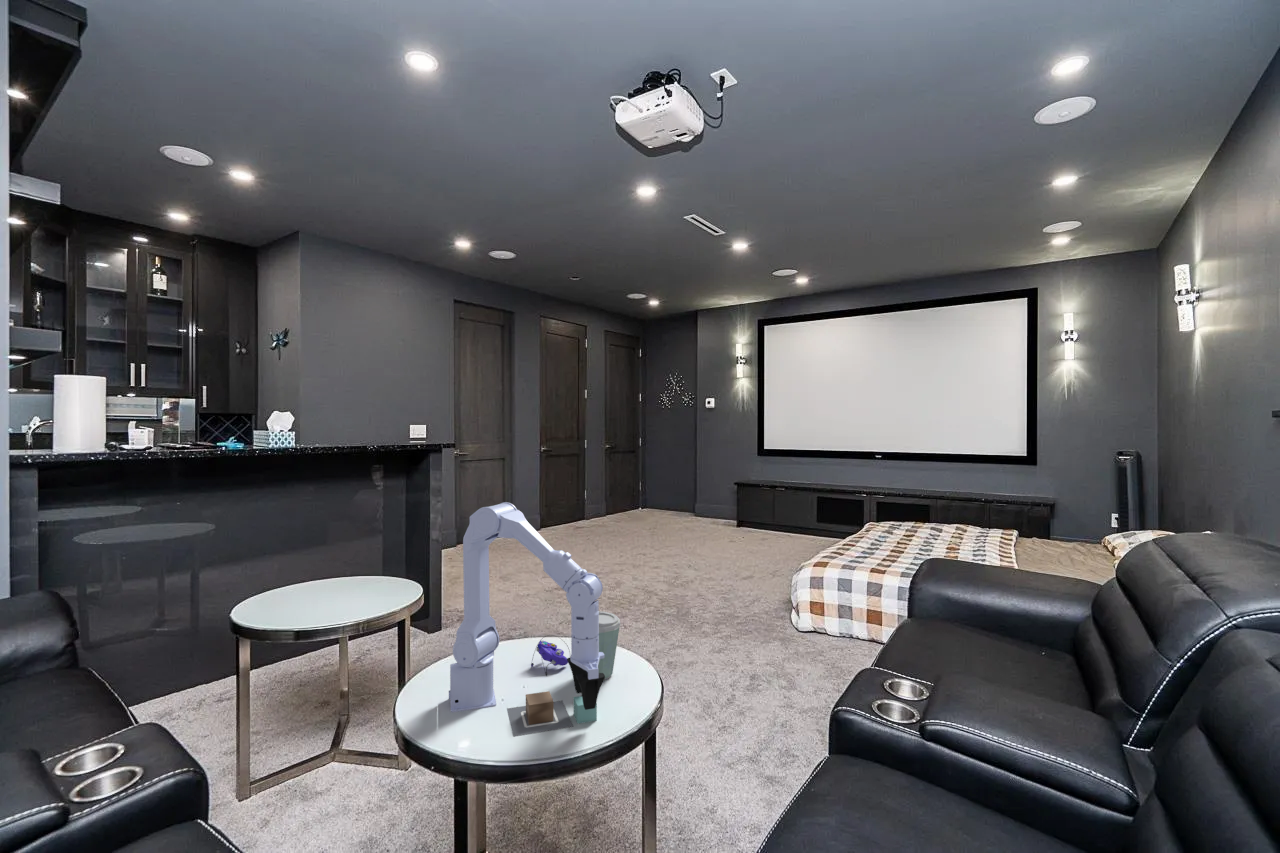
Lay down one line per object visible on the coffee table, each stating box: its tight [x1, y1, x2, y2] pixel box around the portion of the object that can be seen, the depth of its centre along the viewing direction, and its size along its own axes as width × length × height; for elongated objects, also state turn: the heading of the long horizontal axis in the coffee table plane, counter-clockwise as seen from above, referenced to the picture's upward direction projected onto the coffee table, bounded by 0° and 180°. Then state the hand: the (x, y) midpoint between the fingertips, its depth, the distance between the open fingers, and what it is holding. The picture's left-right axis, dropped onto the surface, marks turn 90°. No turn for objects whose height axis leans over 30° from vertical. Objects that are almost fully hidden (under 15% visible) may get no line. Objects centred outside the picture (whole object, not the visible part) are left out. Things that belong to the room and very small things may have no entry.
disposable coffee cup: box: [598, 610, 621, 681], centre depth 143 cm, size 11×11×15 cm
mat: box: [506, 699, 574, 737], centre depth 122 cm, size 12×12×1 cm
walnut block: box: [525, 690, 555, 725], centre depth 122 cm, size 5×5×4 cm
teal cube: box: [573, 695, 598, 724], centre depth 122 cm, size 4×4×4 cm
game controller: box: [530, 634, 571, 677], centre depth 149 cm, size 10×8×10 cm
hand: (585, 700), depth 122 cm, fingers open, 7 cm apart
